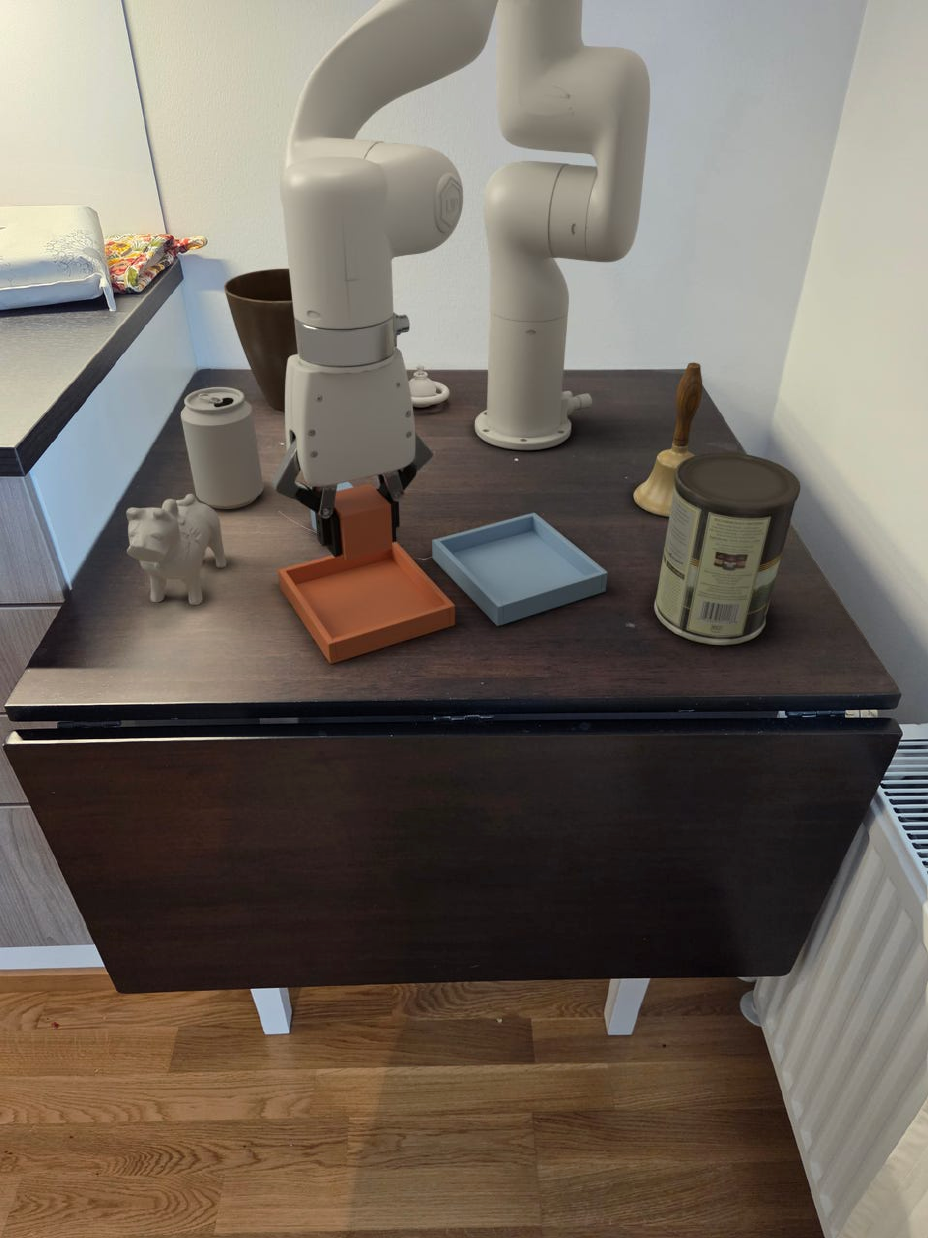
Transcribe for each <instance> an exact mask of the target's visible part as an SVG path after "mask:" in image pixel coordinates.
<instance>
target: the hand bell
mask: <svg viewBox="0 0 928 1238" xmlns="http://www.w3.org/2000/svg"><path fill="white" fill-rule="evenodd" d="M701 368H702V367H701V364H700V363H698V362H689V363H688V364H687V367H686V369H685V371H684V373H683V374H682V377H681V378H680V380H679V383H678V386H677V389H676V394H675V395H676V396H675V412H676V425H675V429H674V434H673V438H672V444H671V448H670V449H664V450H662V451H660V452H659V453H658V454H657V456H656V460H655V463H654V466H653V469H652V470H651V473H650V475H649V477H648V478H647V479H646V480H645V481H644V482H642V483H641V484H639V486H637V488H635V490H634V492H633V500H634V502H635V504H636V505H638V506H639V508H641V509H642V510H644V511H646V512H648V513H650V514H653V515H657V516H660V517H665V518H669V516H670V510H671V503H672V497H673V490H674V484H675V482H674V475H675V470H676V467H677V466H678V465H679V464H680V463H681V462H682V461H684V460H685V459H687V458H690V457H692V456H695V454H693V453H692V452H690V451H688V448H689V443H690V434H691V428H692V422H693V419H694V417H695V415H696V414H697V412H698V409H699V407H700V404H701V400H702V396H703V386H704V385H703V376H702V371H701V370H702V369H701Z"/></svg>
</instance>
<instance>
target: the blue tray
mask: <svg viewBox="0 0 928 1238" xmlns="http://www.w3.org/2000/svg"><path fill="white" fill-rule="evenodd" d="M431 542H432V543H431V545H432V549H431V551H432V559H433V561H435V563H436V564H437V565H438V566H439V567H440V568H441V569H442V570H443V571H444V572H445V573H446V575H448V576H449V578H451V579H452V580H453V581H454V583H455V584H456V585H457V586H458V587H459V588H460V589H461V590H462V591H463V592H464V593H465V594H466V595H467V596H468V597H469V598H470V599H471V600H472V602H473V603H474V604H475V605H476V606H477V607H478V608H479V609H480V610H481V611H482V612H483V613H484V614H485V615H486V616H487V617H488V618H489V619H490V620H491V622H492V623H494V625H495V626H496V627H499V626H500V627H501V626H503V625H506V624H509V623H512V622H516V621H518V620H521V619H524V618H528V617H530V616H533V615H537V614H540V613H543V612H546V611H549V610H553V609H556V608H559V607H561V606H565V605H567V604H571V603H574V602H577V601H580V600H583V599H586V598H590V597H592V596H596V595H599V594H602V593H605V592H607V583H608V574H609V572H608V571H607V570H605V568H603V567H602V566H601V565H599V564H598V563H597V562H596V561H595V560H593V559H592V558H591V557H590V556H589V555H587V554H586V553H584V552H583V551H582V550H581V549H580V548H578V547H577V546H576V545H575V544H574V543H572V542H571V541H570V540H569V539H568V538H566V537H565V536H564V535H563V534H561V533H560V531H558V530H557V529H555V528H554V527H553V526H552V525H551V524H549V523H548V522H547V521H546V520H545V519H543V518H542V517H541V516H539V515H538V514H537V513H536V512H531V513H527V514H524V515H520V516H517V517H513V518H509V519H505V520H501V521H498V522H494V523H490V524H487V525H483V526H480V527H479V526H478V527H475V528H471V529H469V530H464V531H461V532H457V533H453V534H449V535H446V536H443V537H438V538H435V539H432V540H431Z"/></svg>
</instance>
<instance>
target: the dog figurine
mask: <svg viewBox="0 0 928 1238" xmlns="http://www.w3.org/2000/svg"><path fill="white" fill-rule="evenodd" d="M125 514H126V518H127V521H128V526H127V534H128V535H127V536H128V542H129V547H128V548H127V550H126V554H127V555H128V556H129V557H131V558H132V559H135V560H137V561H139V563H140V566H141V568H142V569H143V571H145V572H146V573H147V574H148V575H149V578H150V596H149V597H150V601H151V602H152V603H159V602H162V601H163V600H165V598H166V594H165V592H166V586H167V580H180V581H181V582H182V583H184V584H185V587H186V589H187V593H188V597H187V598H188V602H189V604H190V605H192V606H199V605H200V604H201V603H203V601H204V598H203V590H202V577H201V570H202V567H203V559H204V558H205V556H206V551H207V548H209V549H210V550H211V552H212V553H213V555H214V558H215V565H216V567H217V568H222V569H223V568H225V567H227V559H226V555H225V549H224V543H223V536H222V529H221V522H220V518H219V515H218V513H217V512H216V511H215V509H214V508H213V507H211V506H209V505H207V504H206V503H204V502H199V499H198V498H197V497H196V495H194V494H193V493H188V494H186V496H185V497H184V498H183V499H177V500H176V499H174V498H167V499H165V500H164V502H162V506H161V507H129V508H127V510H126V511H125Z"/></svg>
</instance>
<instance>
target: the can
mask: <svg viewBox="0 0 928 1238" xmlns="http://www.w3.org/2000/svg"><path fill="white" fill-rule="evenodd" d="M184 405H185V406H184V408H183V409H182V411H181V412H180V420H181V424H182V429H183V434H184V440H185V445H186V449H187V455H188V460H189V465H190V471H191V475H192V481H193V487H194V490H195V497H196V498H197V499H198V501H201V502H202V503H204V504H206V505H208V506H209V507H211V508H212V509H218V510H234V509H239V508H242V507H245V506H248V505H250V504H252V503H253V502H254V501H255V500H256V499H257V498H258V497H259V496H260V495H261V494H262V492H263V490H264V482H263V475H262V469H261V468H262V467H261V462H260V454H259V446H258V441H257V433H256V428H255V419H254V413H253V408H252V407H253V406H252V405H251V404H250V403H249V402H248V401H247V400H245V394H244V393H243V392H242V391H241V390H239V389H236V388H234V387H227V386H215V387H207V388H201V389H198V390H195V391H193V392H190V393H189V394H187V395H186V397H185V398H184Z"/></svg>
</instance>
